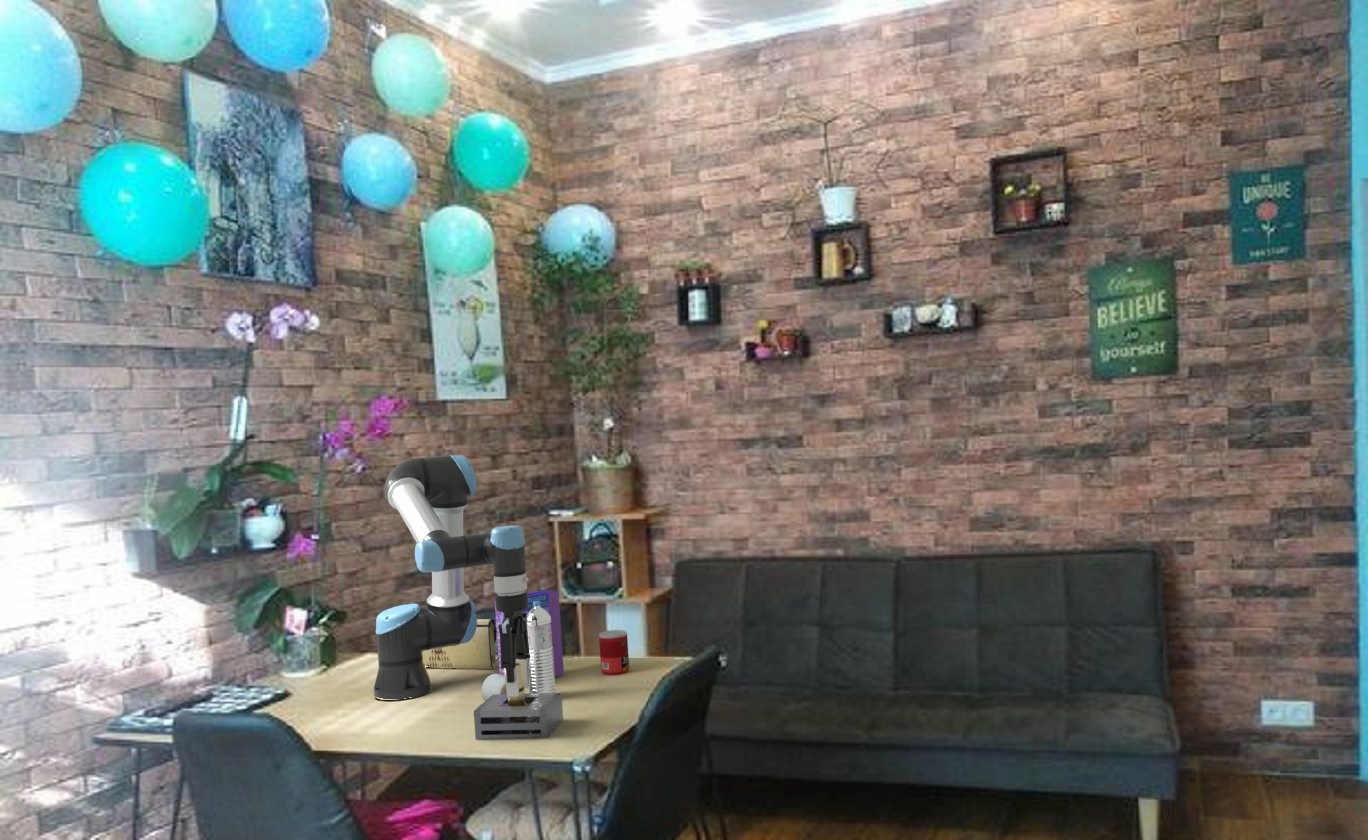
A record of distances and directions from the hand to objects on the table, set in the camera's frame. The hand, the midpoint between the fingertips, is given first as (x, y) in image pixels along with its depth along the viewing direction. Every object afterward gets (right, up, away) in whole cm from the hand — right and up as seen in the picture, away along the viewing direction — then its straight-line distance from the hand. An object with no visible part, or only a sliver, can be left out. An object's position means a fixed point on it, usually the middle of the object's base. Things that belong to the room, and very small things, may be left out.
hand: (517, 691), depth 225 cm
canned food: (+19, -8, +47) cm, 51 cm away
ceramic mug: (-6, -10, +22) cm, 25 cm away
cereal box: (-3, -9, +43) cm, 44 cm away
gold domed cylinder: (0, -8, 0) cm, 8 cm away
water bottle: (+2, -9, +25) cm, 27 cm away
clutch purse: (-29, -11, +65) cm, 72 cm away
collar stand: (+1, -9, 0) cm, 9 cm away
